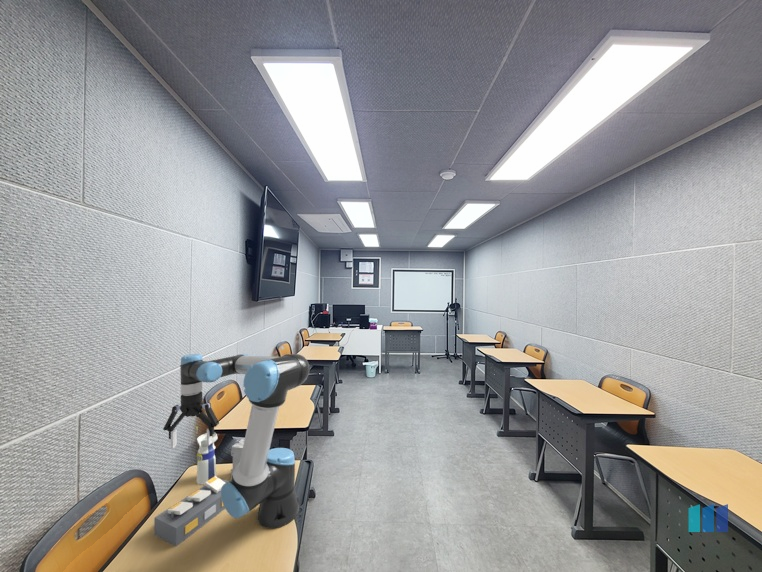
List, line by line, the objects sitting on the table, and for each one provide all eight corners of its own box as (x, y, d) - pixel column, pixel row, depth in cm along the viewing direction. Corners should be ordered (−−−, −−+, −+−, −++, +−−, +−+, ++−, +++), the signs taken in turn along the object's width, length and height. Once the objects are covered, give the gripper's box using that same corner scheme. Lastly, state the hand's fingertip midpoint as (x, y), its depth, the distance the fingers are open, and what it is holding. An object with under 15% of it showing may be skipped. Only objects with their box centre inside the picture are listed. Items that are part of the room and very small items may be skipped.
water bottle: (203, 487, 126) (204, 429, 127) (191, 481, 130) (192, 425, 131) (221, 476, 134) (221, 421, 135) (209, 471, 138) (209, 418, 138)
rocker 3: (226, 486, 118) (227, 483, 118) (216, 493, 114) (217, 490, 113) (214, 478, 120) (215, 475, 120) (204, 485, 116) (205, 481, 116)
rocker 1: (192, 506, 105) (192, 502, 105) (180, 514, 101) (179, 510, 101) (180, 505, 107) (180, 501, 107) (167, 513, 103) (167, 509, 103)
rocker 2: (210, 493, 111) (210, 490, 111) (199, 501, 107) (199, 497, 107) (198, 493, 114) (198, 489, 114) (187, 500, 110) (187, 496, 110)
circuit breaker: (258, 484, 129) (259, 449, 129) (230, 480, 131) (231, 446, 132) (268, 473, 136) (268, 441, 136) (241, 470, 139) (242, 438, 139)
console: (237, 499, 119) (237, 480, 119) (176, 546, 97) (177, 523, 97) (216, 491, 124) (216, 473, 124) (154, 534, 102) (154, 512, 102)
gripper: (227, 388, 124) (227, 438, 123) (164, 391, 121) (164, 443, 121) (219, 393, 117) (219, 447, 116) (152, 397, 114) (152, 452, 113)
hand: (191, 445), depth 118 cm, fingers open, 13 cm apart
